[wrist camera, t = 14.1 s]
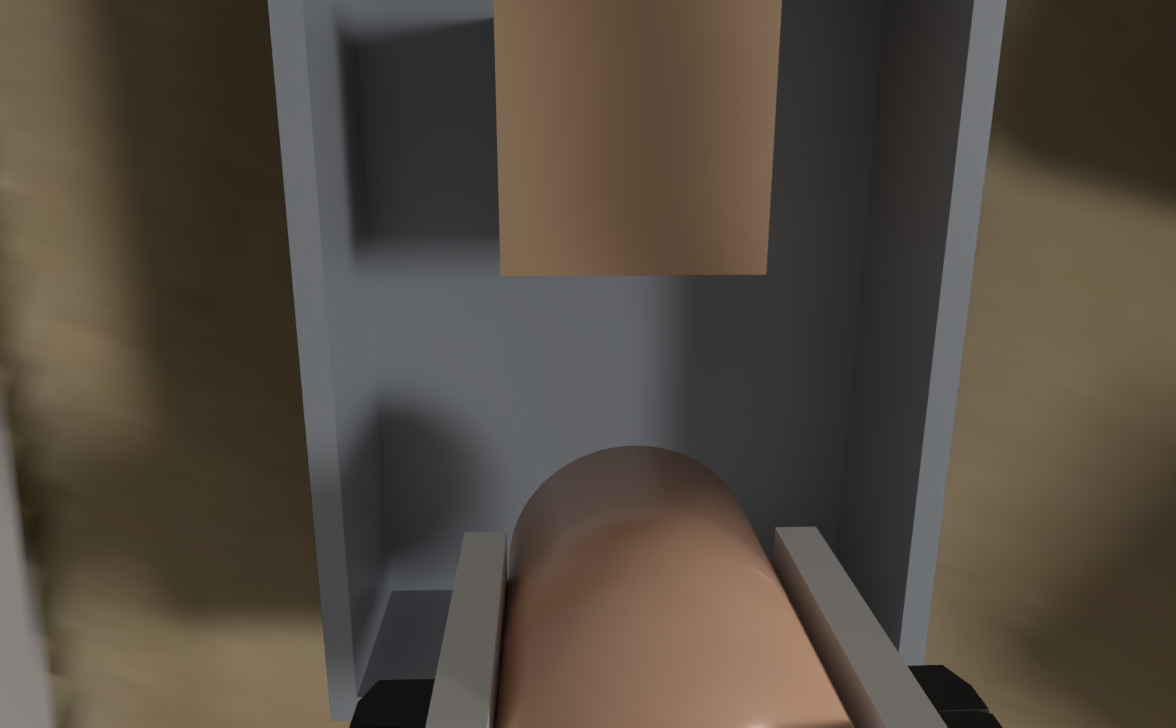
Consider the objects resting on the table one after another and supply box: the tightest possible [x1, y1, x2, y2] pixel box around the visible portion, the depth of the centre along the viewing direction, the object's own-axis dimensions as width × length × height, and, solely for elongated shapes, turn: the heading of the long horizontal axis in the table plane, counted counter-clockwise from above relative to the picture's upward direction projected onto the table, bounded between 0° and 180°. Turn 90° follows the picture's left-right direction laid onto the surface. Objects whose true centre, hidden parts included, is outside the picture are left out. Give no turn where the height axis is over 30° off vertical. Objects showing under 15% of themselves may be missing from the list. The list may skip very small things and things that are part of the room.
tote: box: [268, 0, 1007, 721], centre depth 20 cm, size 17×13×5 cm
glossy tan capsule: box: [495, 445, 855, 728], centre depth 15 cm, size 5×5×7 cm
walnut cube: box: [493, 0, 782, 276], centre depth 18 cm, size 5×5×5 cm
